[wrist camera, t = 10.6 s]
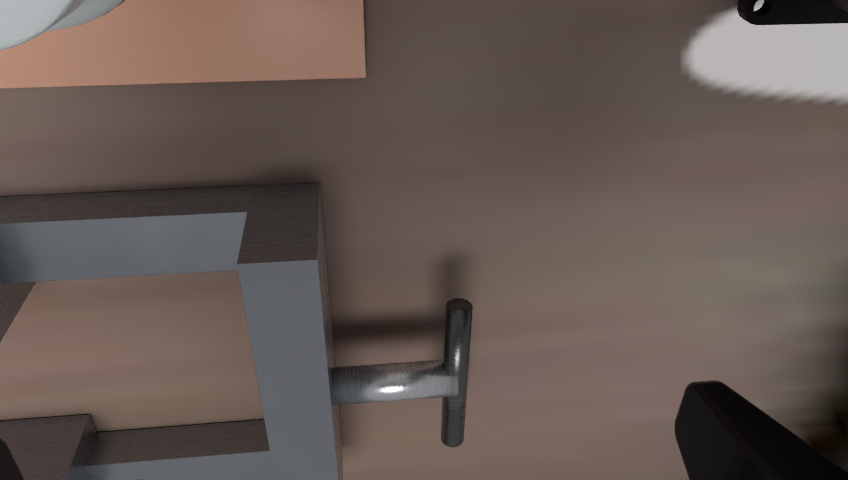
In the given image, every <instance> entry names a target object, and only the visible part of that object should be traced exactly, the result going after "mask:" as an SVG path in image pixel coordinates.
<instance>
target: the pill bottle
mask: <svg viewBox="0 0 848 480" xmlns="http://www.w3.org/2000/svg"><path fill="white" fill-rule="evenodd" d="M124 1H125V0H0V51H1V50H5V49H9V48H12V47H15V46H18V45H20V44H23V43H25V42H27V41H29V40H32V39H34V38H36V37H38V36H39V35H40V34H42V33H43V32H45V31H53V30H59V29H65V28H69V27H73V26H77V25H82V24H85V23H88V22H90V21H92V20H94V19H96V18H98V17H100V16H103V15H105V14H107V13H109V12H110V11H111V10H112V9H114V8H115V7H117V6H118V5H120V4H121V3H123V2H124Z"/></svg>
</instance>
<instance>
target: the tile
mask: <svg viewBox="0 0 848 480" xmlns="http://www.w3.org/2000/svg"><path fill="white" fill-rule="evenodd" d="M338 78H366V66H365V39H364V13H363V0H125V1H124V2H123V3H121V4H120V5H118V6H117V7H115V8H114V9H112V10H111V11H110V12H109V13H107V14H105V15H103V16H100V17H98V18H96V19H94V20H92V21H90V22H88V23H85V24H82V25H77V26H73V27H69V28H65V29H59V30H53V31H45V32H43V33H42V34H40V35H39V36H38V37H36V38H34V39H32V40H29V41H27V42H25V43H23V44H20V45H18V46H15V47H12V48H9V49H5V50H1V51H0V88H29V87H64V86H98V85H132V84H167V83H201V82H235V81H270V80H304V79H338Z"/></svg>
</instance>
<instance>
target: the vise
mask: <svg viewBox="0 0 848 480" xmlns="http://www.w3.org/2000/svg"><path fill="white" fill-rule="evenodd" d="M234 270H238V274H239V280H240V285H241V291H242V296H243V302H244V308H245V313H246V319H247V325H248V330H249V336H250V342H251V347H252V353H253V358H254V364H255V370H256V375H257V381H258V387H259V392H260V398H261V404H262V409H263V415H264V420H253V421H240V422H227V423H215V424H202V425H189V426H176V427H163V428H151V429H138V430H125V431H112V432H99V433H97V432H96V429H95V426H94V424H93V421H92V419H91V416H90V414H88V415H75V416H62V417H48V418H35V419H22V420H9V421H0V438H1V439H3V440H4V441H5V442H6V444H7V446H8V448H9V450H10V452H11V453H12V455H13V457H14V459H15V461H16V463H17V465H18V467H19V469H20V471H21V473H22V475H23V478H24V480H343V459H342V438H341V426H340V415H339V405H346V404H359V403H372V402H385V401H398V400H411V399H425V398H438V397H442V423H441V441H442V442H443V444H445V445H446V446H448V447H457V446H459V445H461V444H462V442H463V440H464V425H465V410H466V396H467V381H468V366H469V351H470V336H471V321H472V304H471V303H470V302H469V301H468V300H465V299H461V298H456V299H452V300H450V301H448V302H447V304H446V320H445V346H444V360H430V361H416V362H402V363H388V364H374V365H360V366H346V367H335V356H334V344H333V332H332V321H331V309H330V297H329V286H328V274H327V262H326V250H325V239H324V227H323V215H322V203H321V192H320V183H302V184H280V185H257V186H234V187H212V188H189V189H167V190H144V191H121V192H99V193H76V194H54V195H31V196H8V197H0V342H1V340H2V338H3V337H4V335H5V333H6V332H7V330H8V328H9V326H10V325H11V323H12V321H13V320H14V318H15V316H16V315H17V313H18V311H19V310H20V308H21V306H22V304H23V303H24V301H25V299H26V298H27V296H28V294H29V293H30V291H31V289H32V288H33V286H34V284H35V283H36V282H38V281H56V280H74V279H91V278H109V277H127V276H145V275H162V274H180V273H198V272H216V271H234Z"/></svg>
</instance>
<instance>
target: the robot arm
mask: <svg viewBox="0 0 848 480" xmlns="http://www.w3.org/2000/svg"><path fill="white" fill-rule="evenodd" d="M756 1H758V0H739V1H738V8H737V10H738V13H739V16H740V17H742V18H743V19H744V20H746V21H748V22H749V23H751V24H755V25H779V24H820V23H848V0H764V3H763V5H762V7H761V8H760V9H759V10H757V11H753V10H754V5H755V3H756ZM675 435H676V440H677V443H678V446H679V449H680V452H681V455H682V458H683V461H684V464H685V467H686V470H687V473H688V477H689V480H848V472H847V471H845V470H844V469H843V468H841V467H840V466H838V465H837V464H836V463H834V462H833V461H831V460H830V459H829V458H827V457H826V456H824V455H823V454H822V453H820V452H819V451H817V450H816V449H815V448H813V447H812V446H810V445H809V444H808V443H806V442H805V441H803V440H802V439H801V438H799V437H798V436H796V435H795V434H794V433H792V432H791V431H790V430H788V429H787V428H785V427H784V426H783V425H781V424H780V423H778V422H777V421H776V420H774V419H773V418H771V417H770V416H769V415H767V414H766V413H764V412H763V411H762V410H760V409H759V408H757V407H756V406H755V405H753V404H752V403H750V402H749V401H748V400H746V399H745V398H743V397H742V396H741V395H739V394H738V393H736V392H735V391H734V390H732V389H731V388H730V387H728V386H727V385H725V384H724V383H722V382H720V381H715V380H712V381H699V382H692V383H690V384H689V385H688V386H687V387H686V389H685V392H684V395H683V398H682V401H681V404H680V408H679V411H678V414H677V417H676V420H675ZM0 480H24V478H23V475H22V473H21V471H20V469H19V467H18V465H17V463H16V461H15V459H14V457H13V455H12V453H11V452H10V450H9V448H8V446H7V444H6V442H5V441H4V440H3V439H1V438H0Z"/></svg>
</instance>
